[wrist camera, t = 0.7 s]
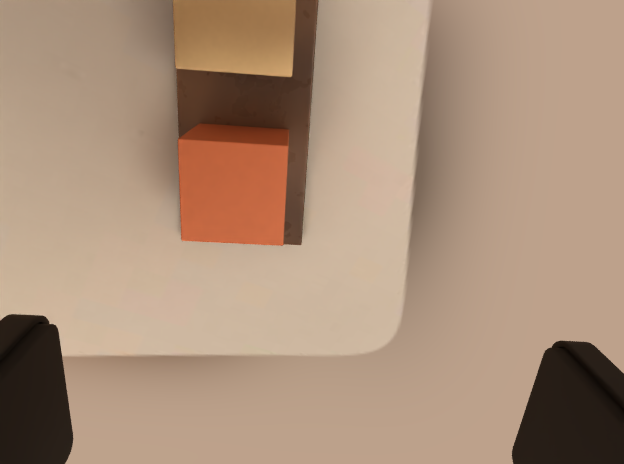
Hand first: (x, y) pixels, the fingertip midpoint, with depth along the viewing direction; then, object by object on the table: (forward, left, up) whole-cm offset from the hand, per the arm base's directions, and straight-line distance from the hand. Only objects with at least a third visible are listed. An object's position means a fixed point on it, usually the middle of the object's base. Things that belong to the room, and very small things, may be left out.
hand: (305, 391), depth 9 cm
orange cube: (-1, -3, -15) cm, 16 cm away
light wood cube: (-8, -3, -15) cm, 17 cm away
